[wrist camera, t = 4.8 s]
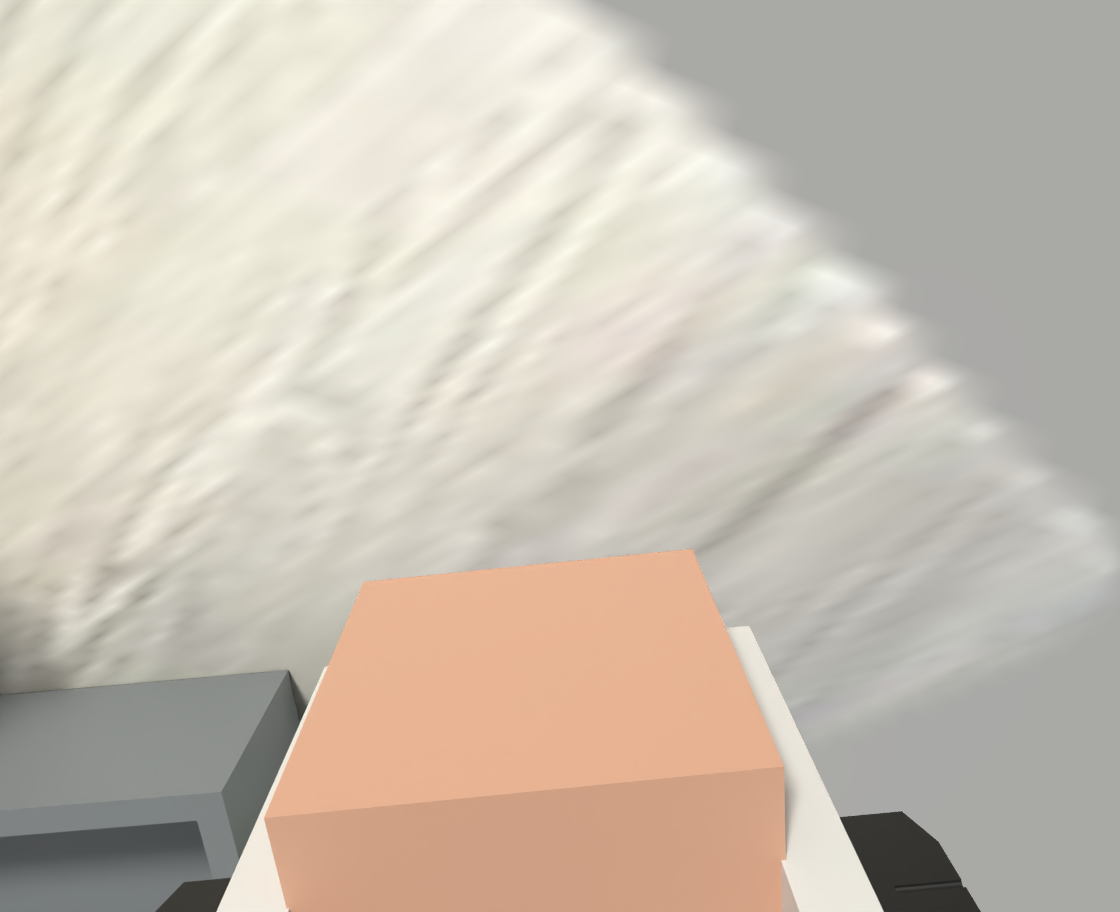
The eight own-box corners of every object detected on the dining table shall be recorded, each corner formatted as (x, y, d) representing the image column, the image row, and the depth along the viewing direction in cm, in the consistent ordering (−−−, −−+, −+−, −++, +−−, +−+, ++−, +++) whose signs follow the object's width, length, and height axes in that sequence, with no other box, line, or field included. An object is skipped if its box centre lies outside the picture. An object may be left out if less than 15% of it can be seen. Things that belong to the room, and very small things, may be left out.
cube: (412, 846, 14) (354, 1173, 10) (363, 582, 13) (264, 818, 8) (706, 817, 14) (790, 1131, 10) (692, 548, 13) (784, 766, 8)
